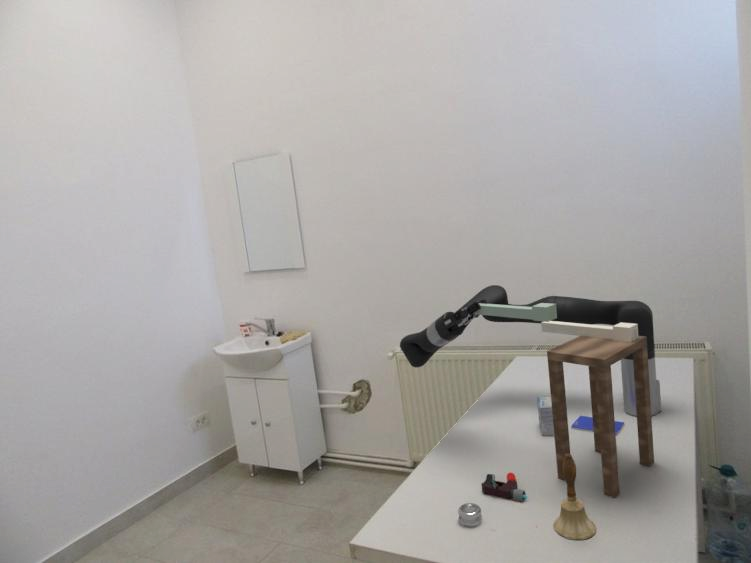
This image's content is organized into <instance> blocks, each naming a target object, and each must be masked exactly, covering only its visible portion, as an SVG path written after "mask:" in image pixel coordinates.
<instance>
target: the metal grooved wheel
mask: <svg viewBox="0 0 751 563" xmlns="http://www.w3.org/2000/svg"><path fill="white" fill-rule="evenodd" d="M457 512H458V513H457V514H458V521H459V524H460V525H461V526H463V527H466V528H475V527H478V526H480V525H481V524H482V522H483V516H482V509H481V507H480V505H478V504H476V503H473V502H467V503H463V504H461V505H460V506H459V507H458V509H457Z"/></svg>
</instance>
